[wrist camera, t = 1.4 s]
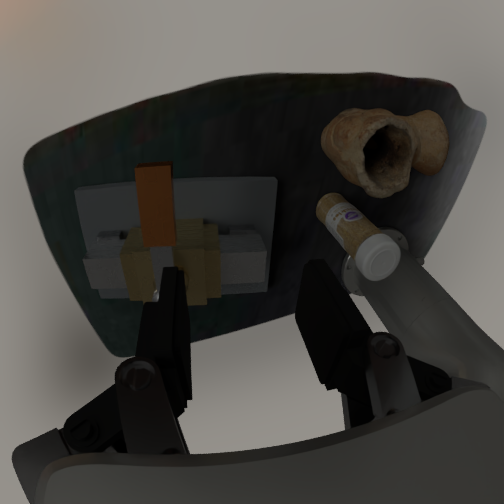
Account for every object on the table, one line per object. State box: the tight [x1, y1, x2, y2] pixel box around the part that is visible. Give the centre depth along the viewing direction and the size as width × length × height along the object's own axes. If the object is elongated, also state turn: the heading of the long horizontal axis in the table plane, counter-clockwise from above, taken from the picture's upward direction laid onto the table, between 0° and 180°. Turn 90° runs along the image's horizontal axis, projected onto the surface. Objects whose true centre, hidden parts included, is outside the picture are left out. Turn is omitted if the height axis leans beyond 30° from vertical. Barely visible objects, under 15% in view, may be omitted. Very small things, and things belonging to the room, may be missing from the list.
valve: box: [83, 218, 267, 305], centre depth 30 cm, size 20×7×9 cm, turn 87°
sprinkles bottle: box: [316, 193, 401, 281], centre depth 30 cm, size 5×5×14 cm
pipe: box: [321, 108, 449, 198], centre depth 27 cm, size 9×16×10 cm, turn 99°
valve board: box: [74, 177, 278, 298], centre depth 34 cm, size 24×16×2 cm, turn 87°
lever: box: [135, 161, 177, 302], centre depth 22 cm, size 14×3×2 cm, turn 177°
